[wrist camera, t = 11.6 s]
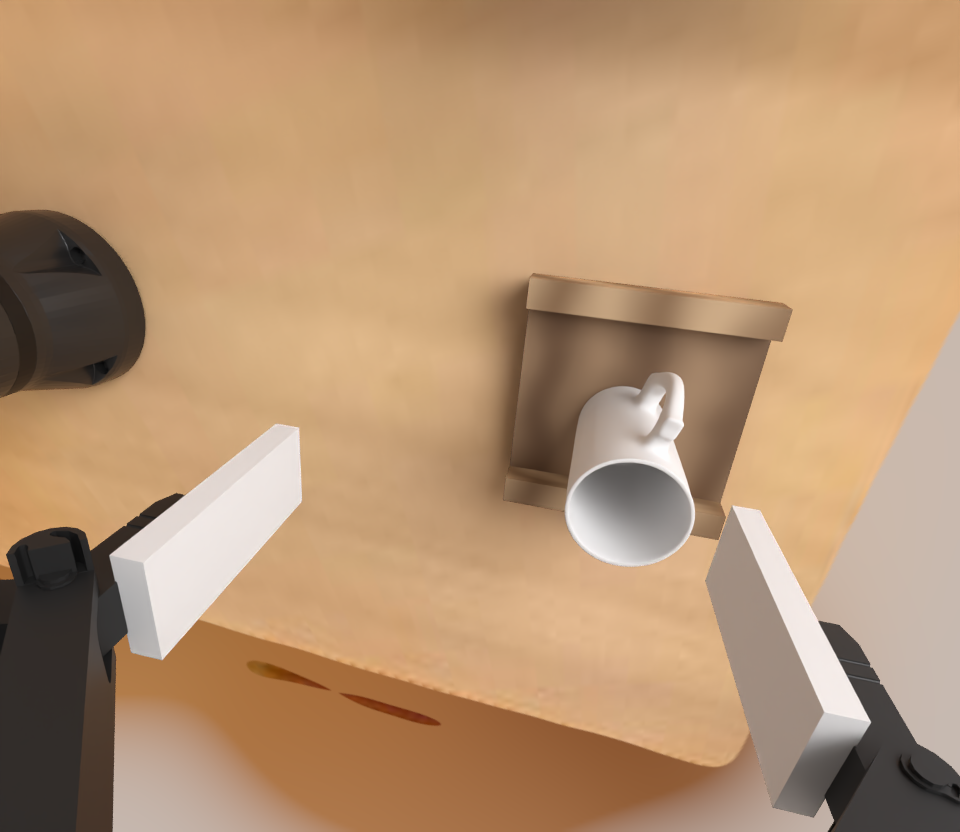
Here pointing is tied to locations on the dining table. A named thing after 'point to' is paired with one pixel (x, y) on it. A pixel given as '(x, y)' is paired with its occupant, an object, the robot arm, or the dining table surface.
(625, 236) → the dining table surface
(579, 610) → the dining table surface
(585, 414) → the mug
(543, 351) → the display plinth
